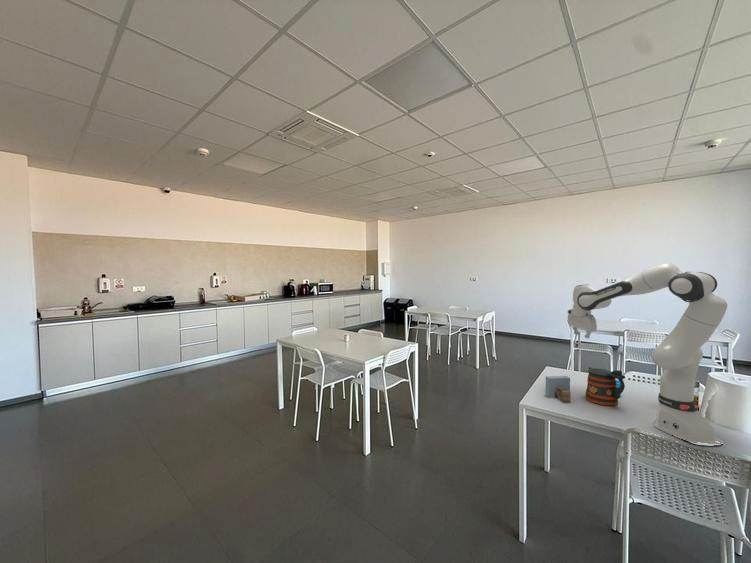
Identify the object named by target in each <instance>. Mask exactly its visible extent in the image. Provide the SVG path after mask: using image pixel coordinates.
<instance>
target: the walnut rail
mask: <svg viewBox="0 0 751 563" xmlns="http://www.w3.org/2000/svg"><path fill="white" fill-rule="evenodd" d="M555 396H556V397H555V398H557V399H560V401H561V402H562V403H563V404H567V403H569V404H570V403H571V390H570V391H568V390H567V389H565V388H564V387H557V392H555Z"/></svg>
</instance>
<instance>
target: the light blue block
mask: <svg viewBox="0 0 751 563" xmlns="http://www.w3.org/2000/svg"><path fill="white" fill-rule="evenodd" d="M557 387H564V388H565V389H567V390H568V391H570V392H571V378H570V377H568V375H559V376H558V375H554V376H553V375H550V376H549V375H548V376H547V375H546V376H545V396H546V395H547V396H546V397H548V398H556V397H555V392H557Z"/></svg>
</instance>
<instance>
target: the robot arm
mask: <svg viewBox="0 0 751 563" xmlns="http://www.w3.org/2000/svg"><path fill="white" fill-rule="evenodd" d="M717 287H718V281H717V279H716V278H715V276H713V275H711V274H709V273H707V272H704V271H703V272H701V271H685V272H684V271H683V272H682V271H681V270H680V268H679V267H678V266H677V265H675V264H673V263H670V262H666V263H662V264H657V265H653V266H651V267H648V268H645V269H642V270H641V271H638V272H636V273H634V274H632V275H630V276H628V277H626V278H624V279H621V280H620V281H618V282H616V283H614V284H611V285H609V286H606V287H605V286H604V287H603V288H601V289H597V288H595V287H593V286H592V285H590V284H579V285H576V286H574V288H573V292H572V301H573V305H572V308H570V309H568V310H567V324H568V326H571V327H572V329H573V334H574V335H576V336H579V330H578V329H580V330H584V331H585V334H584V338H585V339H591V338H590V336H591V334H592V332H596V331H598V330H597V329H598V328H597V320H596V317H595V316H594V314H592V311H593V310H598V309H605V308H607V307H609V306H610V305H611V304H612V299H615V298H618V297H623V296H635V295H636V296H637V295H640V296H641V295H645V294H646V295H647V294H650V293H654V292H657V291H659V290H662V289H666V288H668V290H669V291H670V293H672V294H673V295H675V296H676V297H677V298H679V299H681V300H682V301H684V302H685V303H688V306H687V307H686V309H685V311H684V312H683V314H682V316H681V317H680V319H679V320H678V322H677V323H676V326H675V327H674V328H673V329H672V330H671V331H670V332H669V333H668V335H666V337H665V338H664V339H663V340H662V341H661V343H660V344H659V345H658V346H657V347H655V348H654V349H653V350H652V352H651V355H650V356H651V360H652V362H653V364H655V365H656V366H657V367H659V368H661V369H663V372H662V373H661V375H660V376H659V393H658V396H657V399H658V402H659V403H658V407H657V411H656V416H655V420H654V423H653V427H654V428H656V429H658V430H660V431H662V432H664V433H666V434H668V435H670V436H672V435H673V436H672V437H675V438H677V437H678V438H677V439H679V438H680V439H679V440H681V439H683V440H686V441H689V442H693V443H697V442H701V443H708V444H721V443H724V441H723V440H722V439H720V438H718V437H717V436H716V432H715V428H714V426H713V424H711V423H710V421H708V420H707V419H706V418H705V417H704V415H702V414H701V412H699V411H698V410H699V409H700V408H701V405H698V404H697V403H696V400H695V398H694V396H695V393H694V392H695V381H696V377H697V373H698V371H699V367H700V366H699V365H700V363H701V360H702V359H703V356H704V353H703V350H702V348H701V347H702V346H704V345H705V344H706V343H707V342H708V341H709V340H710V338H711V337H712V336H713V334H714V333H715V331H716V330H717V328H718V327H719V325H720V324H721V322H722V320H723V318H724V317H725V314H726V311H727V309H728V302H727V300H725V299H724V298H722V297H720V296H719V295H715V294H714V292H715V290H716V289H717ZM683 440H682V441H683ZM715 441H718V442H720V443H717V442H715Z"/></svg>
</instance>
